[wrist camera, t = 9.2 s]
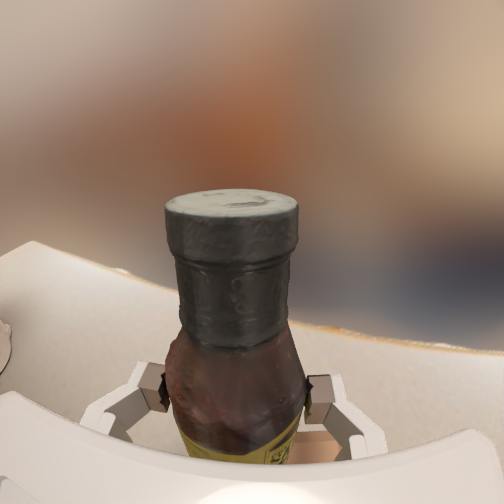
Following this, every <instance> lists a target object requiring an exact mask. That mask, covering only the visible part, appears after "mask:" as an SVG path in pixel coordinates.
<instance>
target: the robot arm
mask: <svg viewBox="0 0 504 504" xmlns="http://www.w3.org/2000/svg"><path fill="white" fill-rule="evenodd" d="M10 335H11V328H10V326H9V325H8V324H4V323H2V322H1V320H0V372H1V371H2V370H3V368H4V367H5V365H6V363H7V361H8V359H9V356H10V352H11V343H10ZM165 376H166V373H165V365H162V364H157V363H152V362H147V361H142V360H140V361H139V362H138V363H137V365H136V367H135V369H134V371H133V373H132V375H131V377H130V379H129V381H128V383H127V385H126V384H123V385H122V386H120V387H118V388H117V389H115V390H113V391H112V392H110V393H108V394H107V395H105V396H103V397H102V398H100V399H98V400H96V401H95V402H93V403H91V404H90V405H89V406H88V407H87V409H86V411H85V413H84V415H83V417H82V419H81V421H80V423H79V424H78V423H76V422H73V421H71V420H69V419H67V418H65V417H62V416H60V415H58V414H56V413H54V412H52V411H50V410H48V409H46V408H44V407H43V406H41V405H39V404H37V403H35V402H33V401H32V400H30V399H28V398H27V397H25V396H23V395H22V394H20V393H18V392H16V391H9V392H6V393H4V394H1V395H0V504H504V474H503V470H502V466H501V462H500V459H499V456H498V453H497V450H496V447H495V444H494V442H493V441H492V439H491V438H490V437H488V436H487V435H485V434H484V433H482V432H481V431H479V430H477V429H475V428H473V427H469V428H465V429H463V430H460V431H458V432H455V433H453V434H450V435H448V436H445V437H442V438H439V439H436V440H433V441H430V442H427V443H424V444H420V445H417V446H413V447H410V448H406V449H402V450H398V451H394V452H390V453H389V452H388V448H387V444H386V440H385V436H384V432H383V430H382V429H381V428H380V427H379V426H377V425H376V424H375V423H374V422H373V421H372V420H371V419H370V418H368V417H367V416H366V415H365V414H364V413H363V412H362V411H361V410H359V409H358V408H357V407H356V406H355V405H354V404H353V403H352V402H351V401H350V402H348V401H347V397H346V392H345V388H344V384H343V379H342V376H341V374H330V375H329V374H325V375H308V376H307V378H306V383H307V393H306V398H305V402H304V406H305V411H304V419H305V424H323V425H324V427H325V428H326V429H327V430H328V431H329V433H330V434H331V435H332V436H333V438H334V439H335V440H336V441H337V442H338V444H339V445H340V446H341V447H342V449H341V451H340V452H339V454H338V455H337V456H336V458H335V459H334V461H335V462H325V463H312V464H248V463H235V462H224V461H216V460H208V459H201V458H195V457H189V456H184V455H178V454H173V453H169V452H164V451H160V450H156V449H152V448H148V447H144V446H140V445H137V444H133V443H132V439H131V438H130V436H129V435H128V434H127V432H126V431H127V430H128V429H129V428H131V427H132V426H133V425H134V424H135V423H137V422H138V421H139V420H140V419H141V418H142V417H144V416H145V415H146V414H147V413H148V412H150V410H153V411H158V412H164V413H167V411H168V408H169V405H170V400H169V394H168V391H167V388H166V381H165Z"/></svg>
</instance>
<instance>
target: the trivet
mask: <svg viewBox="0 0 504 504" xmlns="http://www.w3.org/2000/svg"><path fill="white" fill-rule="evenodd" d="M341 449H342V447H341V446H340V445H339V444H338V442H337V441H336V440H335V439H334V438H333V436H332V435H331V434H330V433H329V431H313V432H297V433H296V437H295V440H294V443H293V445H292V449H291V452H290V455H289V458H288V461H287V464H312V463H325V462H335V461H334V459H335V458H336V456H337V455H338V454H339V452H340V451H341Z"/></svg>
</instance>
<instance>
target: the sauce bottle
mask: <svg viewBox="0 0 504 504" xmlns="http://www.w3.org/2000/svg"><path fill="white" fill-rule="evenodd" d="M298 211H299V207H298V203H297V202H296V201H295V200H294V199H293V198H291V197H288V196H285V195H282V194H279V193H274V192H269V191H262V190H253V189H223V190H213V191H203V192H196V193H189V194H186V195H182V196H179V197H176V198H173V199H172V200H170V201H169V202H168V203H167V204H166V205H165V221H166V232H167V242H168V245H169V248H170V252H171V253H172V255H173V256H174V258H175V267H176V274H177V283H178V291H179V298H180V305H179V308H180V309H179V318H180V321H181V324H182V328H181V330H180V332H179V334H178V336H177V338H176V339H175V340H173V341H172V343H171V344H170V349H169V352H168V355H167V357H166V360H165V373H166V376H165V381H166V388H167V391H168V394H169V397H170V400H171V403H172V407H173V415H174V418H175V421H176V424H177V426H178V429H179V431H180V434H181V437H182V439H183V441H184V444H185V446H186V449H187V451H188V453H189V456H190V457H195V458H201V459H208V460H216V461H224V462H235V463H248V464H287V461H288V458H289V455H290V452H291V449H292V445H293V443H294V440H295V437H296V433H297V429H298V426H299V421H300V417H301V414H302V410H303V406H304V402H305V398H306V393H307V383H306V377H305V374H304V371H303V368H302V365H301V363H300V360H299V357H298V354H297V351H296V348H295V344H294V341H293V338H292V335H291V331H290V328H289V325H288V321H287V318H288V306H287V296H288V283H289V279H290V256H291V254H292V253H293V251H294V249H295V248H296V245H297V243H298Z"/></svg>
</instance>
